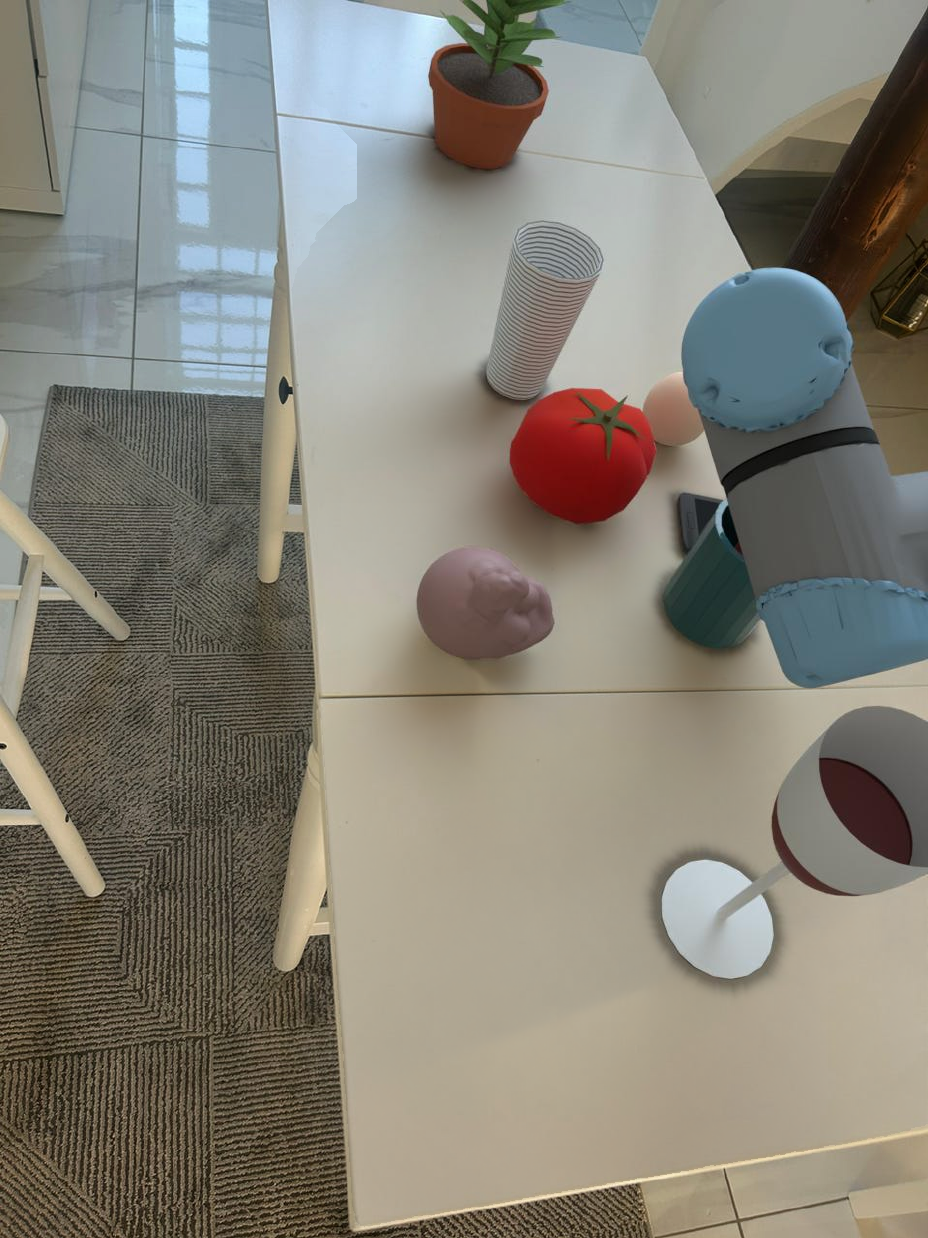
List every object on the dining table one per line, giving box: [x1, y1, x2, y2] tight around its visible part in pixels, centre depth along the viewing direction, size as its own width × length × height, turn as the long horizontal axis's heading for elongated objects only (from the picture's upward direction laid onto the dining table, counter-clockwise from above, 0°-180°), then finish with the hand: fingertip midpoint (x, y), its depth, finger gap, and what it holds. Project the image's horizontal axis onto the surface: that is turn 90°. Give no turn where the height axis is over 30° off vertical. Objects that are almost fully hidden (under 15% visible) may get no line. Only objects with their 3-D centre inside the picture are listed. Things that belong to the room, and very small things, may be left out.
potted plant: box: [428, 0, 573, 170], centre depth 111 cm, size 15×15×30 cm
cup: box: [485, 220, 605, 401], centre depth 93 cm, size 8×8×16 cm
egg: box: [641, 371, 705, 447], centre depth 97 cm, size 7×7×8 cm
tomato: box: [509, 387, 658, 525], centre depth 88 cm, size 13×12×11 cm
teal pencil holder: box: [662, 497, 763, 650], centre depth 83 cm, size 8×8×11 cm
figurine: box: [416, 546, 555, 661], centre depth 76 cm, size 9×11×12 cm
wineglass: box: [661, 705, 928, 980], centre depth 62 cm, size 9×10×23 cm
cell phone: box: [677, 492, 725, 554], centre depth 94 cm, size 7×14×1 cm, turn 87°
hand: (799, 502), depth 80 cm, fingers closed on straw, 2 cm apart
